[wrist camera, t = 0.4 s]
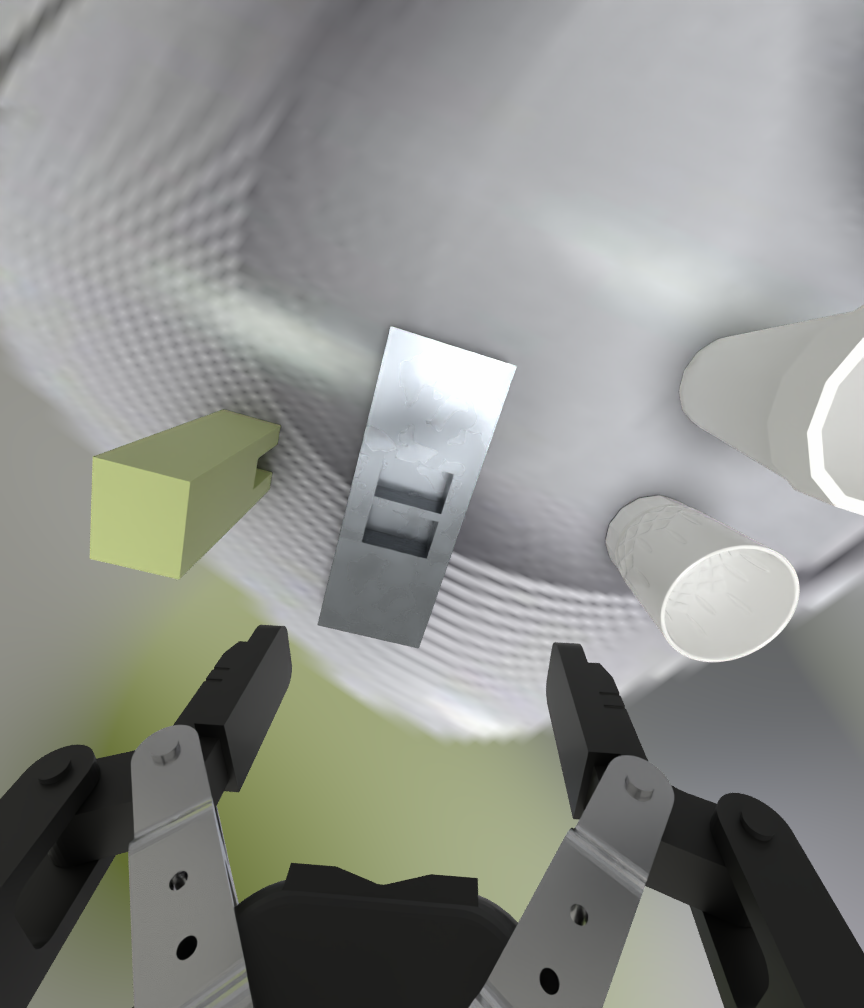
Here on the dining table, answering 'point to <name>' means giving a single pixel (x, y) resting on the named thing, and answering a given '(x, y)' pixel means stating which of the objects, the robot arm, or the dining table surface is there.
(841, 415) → the foam cup
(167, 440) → the olive green rectangular block
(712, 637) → the white cup
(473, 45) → the dining table surface
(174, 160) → the dining table surface
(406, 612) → the grey flat block
